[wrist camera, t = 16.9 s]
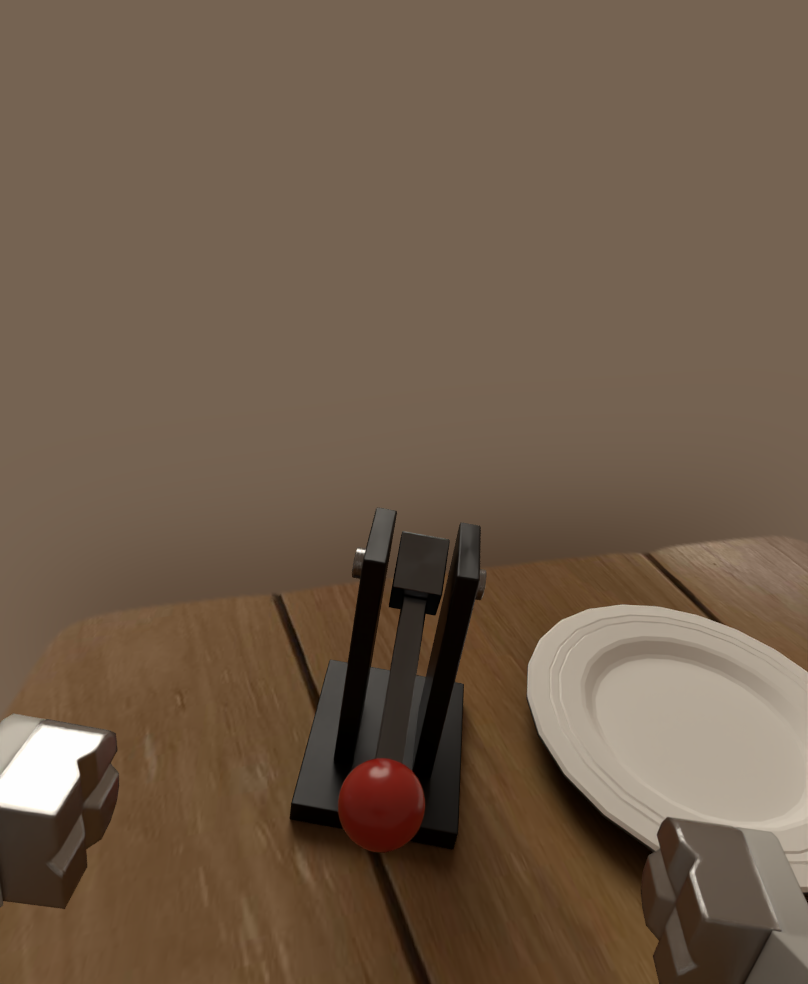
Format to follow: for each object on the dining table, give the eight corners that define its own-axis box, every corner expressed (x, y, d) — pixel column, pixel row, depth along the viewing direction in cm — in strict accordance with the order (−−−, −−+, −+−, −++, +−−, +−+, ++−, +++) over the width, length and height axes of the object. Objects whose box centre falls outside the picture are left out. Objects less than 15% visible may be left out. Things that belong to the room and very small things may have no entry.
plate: (706, 991, 32) (722, 967, 31) (454, 663, 47) (460, 640, 46) (962, 827, 42) (980, 805, 41) (685, 599, 57) (694, 579, 56)
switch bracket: (453, 849, 36) (517, 630, 29) (289, 819, 36) (314, 593, 29) (460, 698, 45) (511, 501, 38) (327, 674, 45) (354, 473, 38)
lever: (414, 864, 30) (423, 855, 27) (329, 848, 30) (329, 837, 27) (454, 568, 37) (464, 536, 34) (385, 556, 37) (389, 523, 34)
